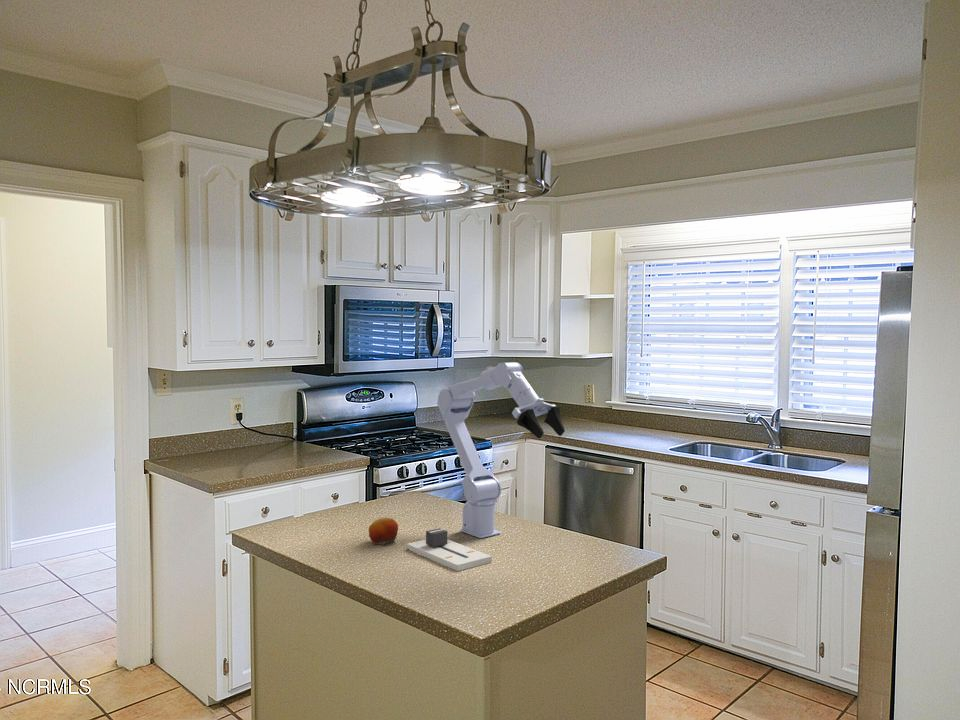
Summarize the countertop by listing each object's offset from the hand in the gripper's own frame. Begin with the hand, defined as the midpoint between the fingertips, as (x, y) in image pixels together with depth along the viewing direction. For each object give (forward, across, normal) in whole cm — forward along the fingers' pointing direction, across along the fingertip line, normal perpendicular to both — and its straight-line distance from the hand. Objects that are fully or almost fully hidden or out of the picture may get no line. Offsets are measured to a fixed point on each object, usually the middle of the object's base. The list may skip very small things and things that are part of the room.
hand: (551, 434), depth 188 cm
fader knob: (+3, -20, +38) cm, 43 cm away
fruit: (-7, -27, +49) cm, 57 cm away
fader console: (+8, -20, +36) cm, 42 cm away
